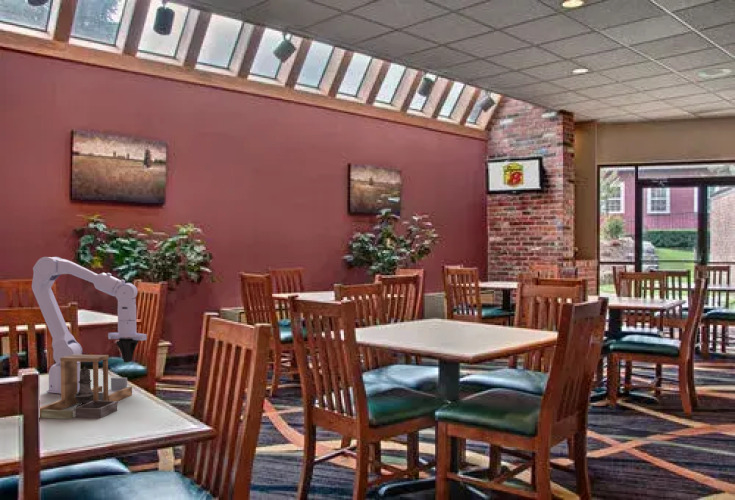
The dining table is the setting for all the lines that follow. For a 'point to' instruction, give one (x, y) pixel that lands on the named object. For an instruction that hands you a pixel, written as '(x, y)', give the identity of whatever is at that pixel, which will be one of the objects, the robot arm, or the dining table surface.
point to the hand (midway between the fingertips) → (127, 361)
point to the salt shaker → (84, 388)
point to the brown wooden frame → (70, 389)
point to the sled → (115, 386)
